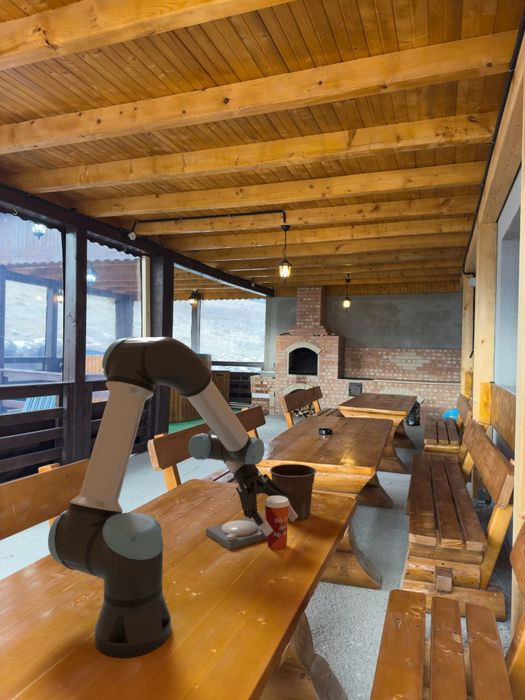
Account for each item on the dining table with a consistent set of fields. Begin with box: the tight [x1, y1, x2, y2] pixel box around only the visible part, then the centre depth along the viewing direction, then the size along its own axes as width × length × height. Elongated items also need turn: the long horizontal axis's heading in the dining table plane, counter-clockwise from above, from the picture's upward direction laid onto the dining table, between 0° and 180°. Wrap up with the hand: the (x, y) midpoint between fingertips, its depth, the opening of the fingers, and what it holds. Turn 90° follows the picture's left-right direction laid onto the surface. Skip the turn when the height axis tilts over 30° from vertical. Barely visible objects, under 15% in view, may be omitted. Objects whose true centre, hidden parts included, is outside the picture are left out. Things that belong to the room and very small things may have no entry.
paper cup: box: [263, 496, 290, 551], centre depth 140 cm, size 8×8×14 cm
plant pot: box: [269, 463, 317, 522], centre depth 165 cm, size 16×16×16 cm
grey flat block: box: [205, 517, 267, 551], centre depth 147 cm, size 16×14×3 cm
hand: (282, 526), depth 138 cm, fingers open, 13 cm apart
